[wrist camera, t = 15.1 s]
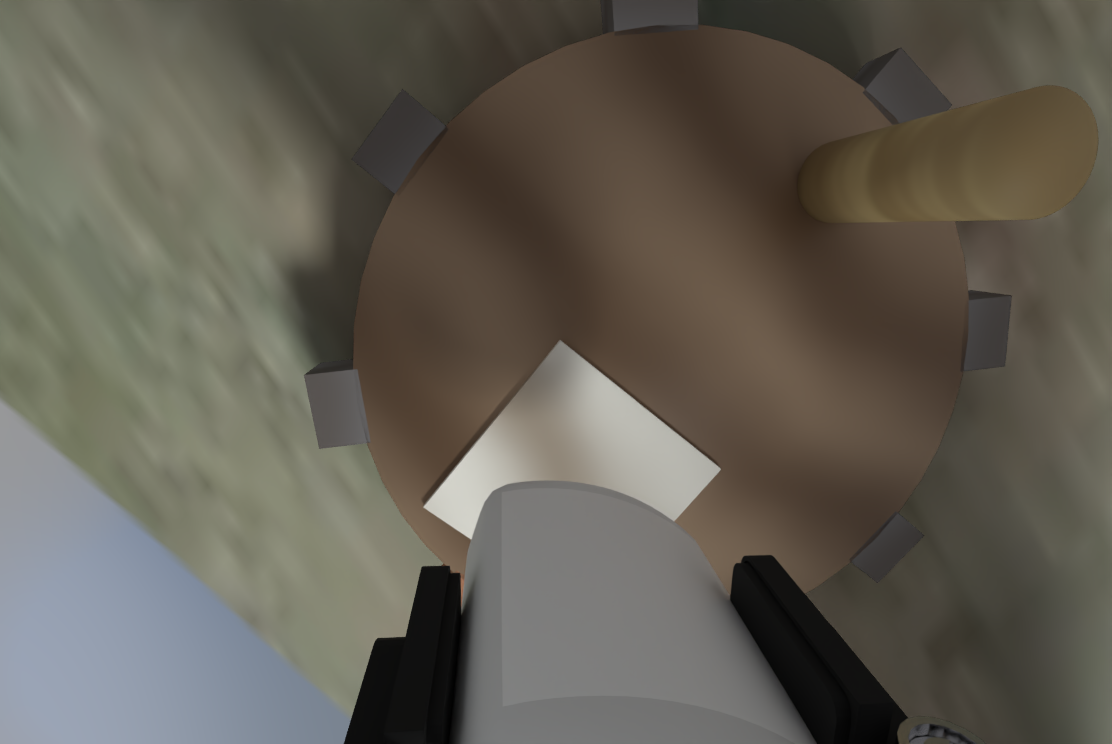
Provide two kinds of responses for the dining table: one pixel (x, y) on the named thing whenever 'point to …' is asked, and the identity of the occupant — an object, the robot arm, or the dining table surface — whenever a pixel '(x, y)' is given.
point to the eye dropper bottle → (603, 631)
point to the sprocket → (688, 287)
